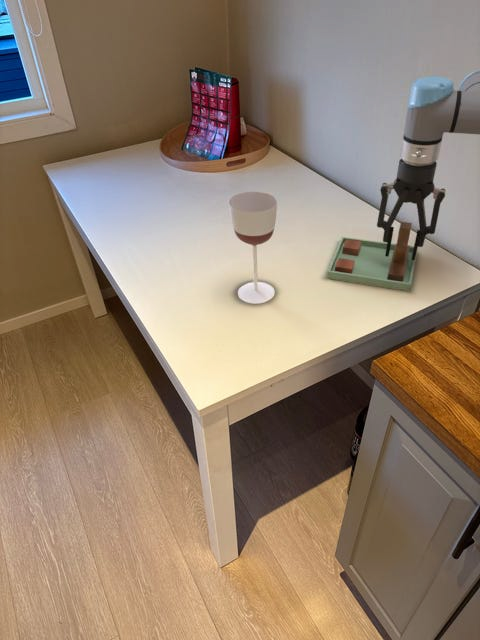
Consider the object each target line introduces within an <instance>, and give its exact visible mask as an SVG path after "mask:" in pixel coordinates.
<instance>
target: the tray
mask: <svg viewBox="0 0 480 640" xmlns="http://www.w3.org/2000/svg"><path fill="white" fill-rule="evenodd" d="M346 240H352V241H360V242H361V249H360V252H359V254H358V256H354V255H347V254H342V251H343V246H344V243H345V241H346ZM395 244H396V243H392V242H391V247H390V252H389V256H388V257H387V256H385V254H386V248H387V242H383V241H376V240H369V239H363V238H362V239H361V238H355V237H347V236H341V237H340V239H339V243H338V245H337V247H336V250H335V252H334V254H333V257H332V259H331V261H330V264H329V266H328V269H327V272H326V279H329V280H335V281H342V282H347V283H354V284H360V285H367V286H372V287H378V288H384V289H392V290H397V291H404V292H409V293H410V291H411V287H412V281H413V276H414V270H415V265H416V259H417V254H418V251H417V252H416V257H415V260H411V259H412V254H413V249H414V245H409V246H410V248H409V253H408V258H407V263H406V268H405V273H404V278H403V282H400V281H394V280H387V277H388V272H389V268H390V264H391V260H392V256H393V252H394V248H395ZM418 249H419V247H417V250H418ZM338 258H342V259H349V260H355V264H354V269H353V272H352V274H349V273H343V272H336V271H335V266H336V263H337V261H338Z"/></svg>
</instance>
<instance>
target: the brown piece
mask: <svg viewBox="0 0 480 640" xmlns="http://www.w3.org/2000/svg"><path fill="white" fill-rule="evenodd" d="M412 225H413V223H412V222H407V221H406V222H405V221H400V224H399V228H398V235H397V240H396V243H394V244H395V248H394V252H393V256H392V260H391V264H390V268H389V272H388V277H387V280H394V281H400V282H403V278H404V273H405V268H406V263H407V258H408V253H409V248H410V246H411V245H409V241H410V240H409V239H410V234H411V231H412V230H411V229H412Z"/></svg>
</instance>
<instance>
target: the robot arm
mask: <svg viewBox="0 0 480 640" xmlns="http://www.w3.org/2000/svg"><path fill="white" fill-rule="evenodd" d="M476 71H477V72H474V71H472V72H471V73H469V74H467V75H466V76H465V77H464V78H463V79H462V81H461V83H460V85H459V87H458V90H457V89H456V90H455V87H454V84H455V83H454V80H452V79H451V78H449V77H444V76H435V75H434V76H433V75H432V76H424V77H420V78H418V79H415V81H414V82H413V84H412V86H411V90H410V95H409V98H408V99H409V100H408V103H407V109H406V116H405V124H404V130H403V136H402V143H401V148H400V154H399V157H400V159H399V162H398V166H397V167H398V168H397V173H396V178H395V179H394V181H393V182H391V183H387V182H383V183H382V184H381V187H380V195H381V199H380V200H381V201H380V206H379V211H378V217H377V223H376V227H377V228H379V229H380V228H381V229H383V236H382V242H385V243H387V248H386V254H385V256H387V257H388V256H389V252H390V247H391V243H392V242H393V241H392V240H393V234H394V228H395V227H394V226H393V224H394V222H395V220H396V218H397V216H398V214H399V213H400V210H401V208H402V207H403V204H404V203H406V204H407V203H411V204H414V205H415V204H416V209H417V216H418V217H417V218H418V225H419V226H418V227H419V229H417V230H416V236H415V241H414V245H413V246H414V249H413V254H412V259H411V260H415V257H416V258H417V255H416V252H417V253H418V249H417V247H418V248H423V246H424V244H425V239H426V236H427V235H429V234H430V235H434V234H435V233H436V229H437V224H438V218H439V213H440V208H441V204H442V202H443V200H444V199H445V197H446V189H445V188H438V187H435V183H434V181H435V180H434V179H435V174H436V169H437V166H438V163H437V161H438V159H439V156H440V151H441V146H442V142H443V136H444V133H449V134H466V135H480V71H479V70H476ZM392 190H393V191H394V192H395V194H396V195H397V199H396V202H395V204H394V205H393V208H392V210H391V212H390V214H389V216H388V218H387V220H385V215H386V211H387V207H388V206H387V205H388V200H389V195H391V193H392ZM431 194H433V195H432V199H434V203H433V208H432V213H431V219H430V224H429V225H427V217H426V208H425V199H426V198H428V197H429V196H430V195H431ZM415 261H416V260H415Z"/></svg>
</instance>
